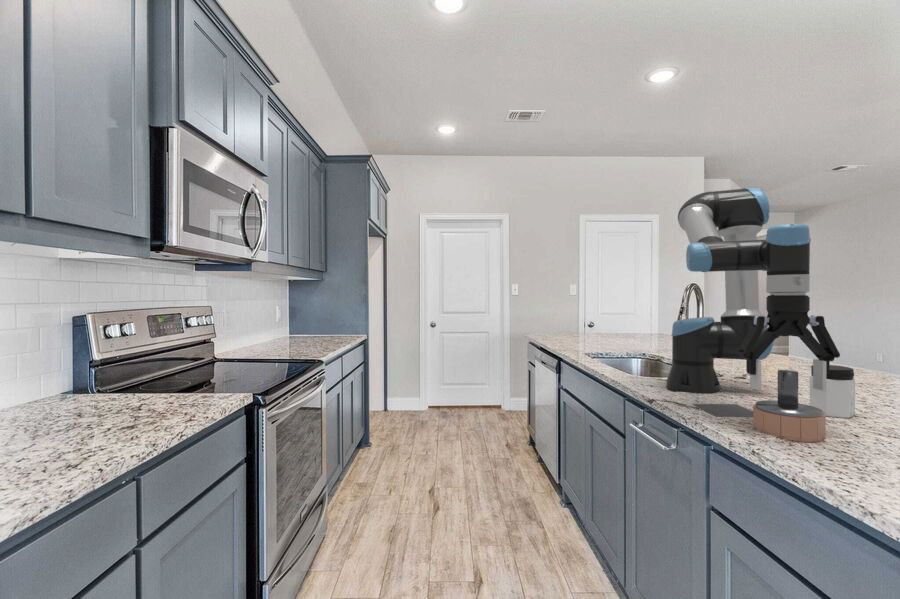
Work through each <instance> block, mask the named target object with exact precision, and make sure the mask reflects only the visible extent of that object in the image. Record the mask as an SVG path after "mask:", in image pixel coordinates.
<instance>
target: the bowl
mask: <svg viewBox="0 0 900 599" xmlns="http://www.w3.org/2000/svg"><path fill="white" fill-rule="evenodd" d="M752 411H753V417H752V425H753V428H754V429H756V430H757V431H760V432H763V433H766V434H768V435H772V436H775V437H776V438H775V439H778V438H780V439H779V440H783V439H786V440H785V441H788V440H791V441H790V442H796V441H799V442H798V443H819V442H820V441H821V442H823V441H824V440H825V437H826V421H827V420H826V417H827V416H825V415H824V414H823V413H822V416H821V417H818V418H797V417H788V416H781V415H776V414H772V413H768V412H764V411H761V410H759V409H757V408H756V403H755V404H752ZM792 440H793V441H792Z"/></svg>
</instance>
